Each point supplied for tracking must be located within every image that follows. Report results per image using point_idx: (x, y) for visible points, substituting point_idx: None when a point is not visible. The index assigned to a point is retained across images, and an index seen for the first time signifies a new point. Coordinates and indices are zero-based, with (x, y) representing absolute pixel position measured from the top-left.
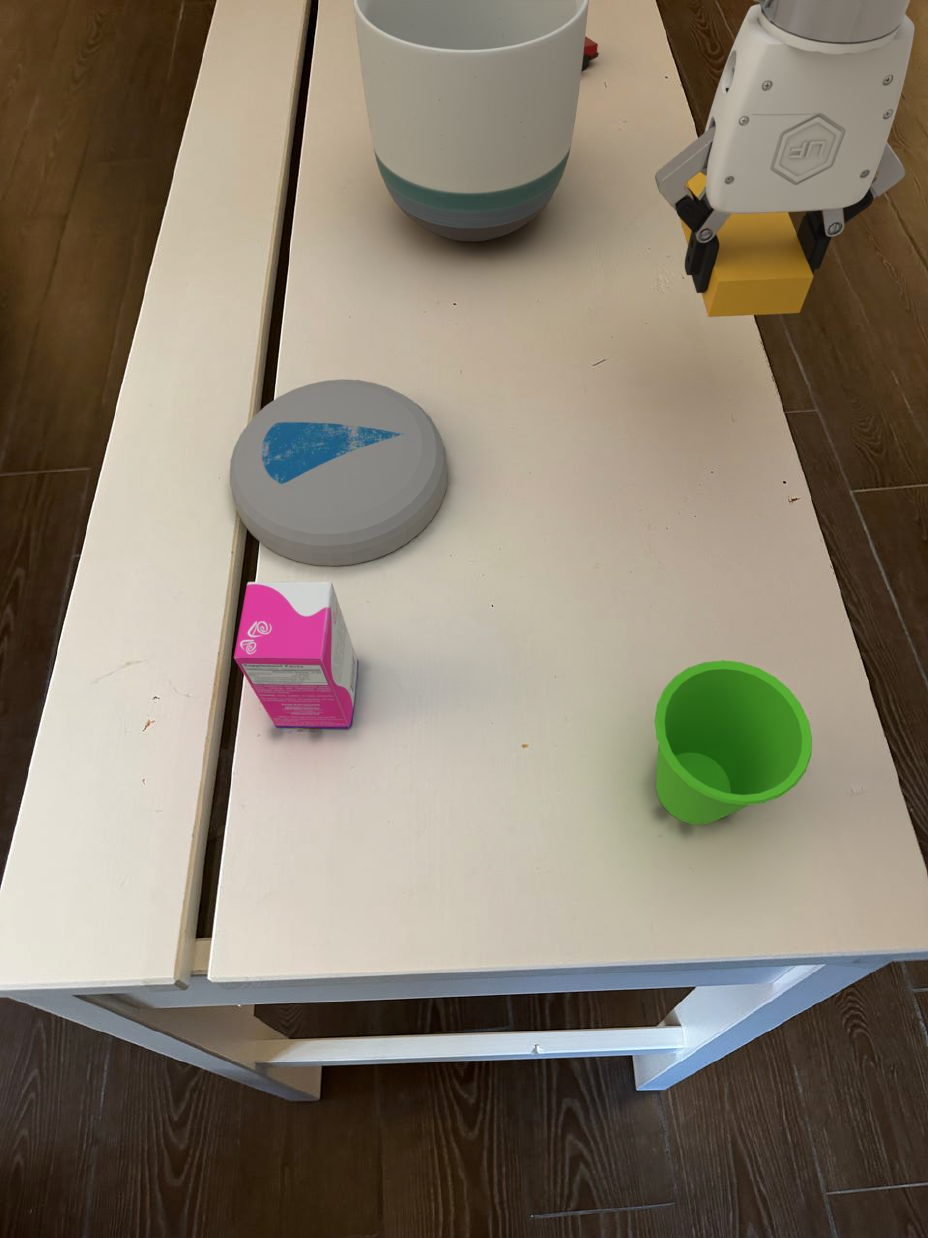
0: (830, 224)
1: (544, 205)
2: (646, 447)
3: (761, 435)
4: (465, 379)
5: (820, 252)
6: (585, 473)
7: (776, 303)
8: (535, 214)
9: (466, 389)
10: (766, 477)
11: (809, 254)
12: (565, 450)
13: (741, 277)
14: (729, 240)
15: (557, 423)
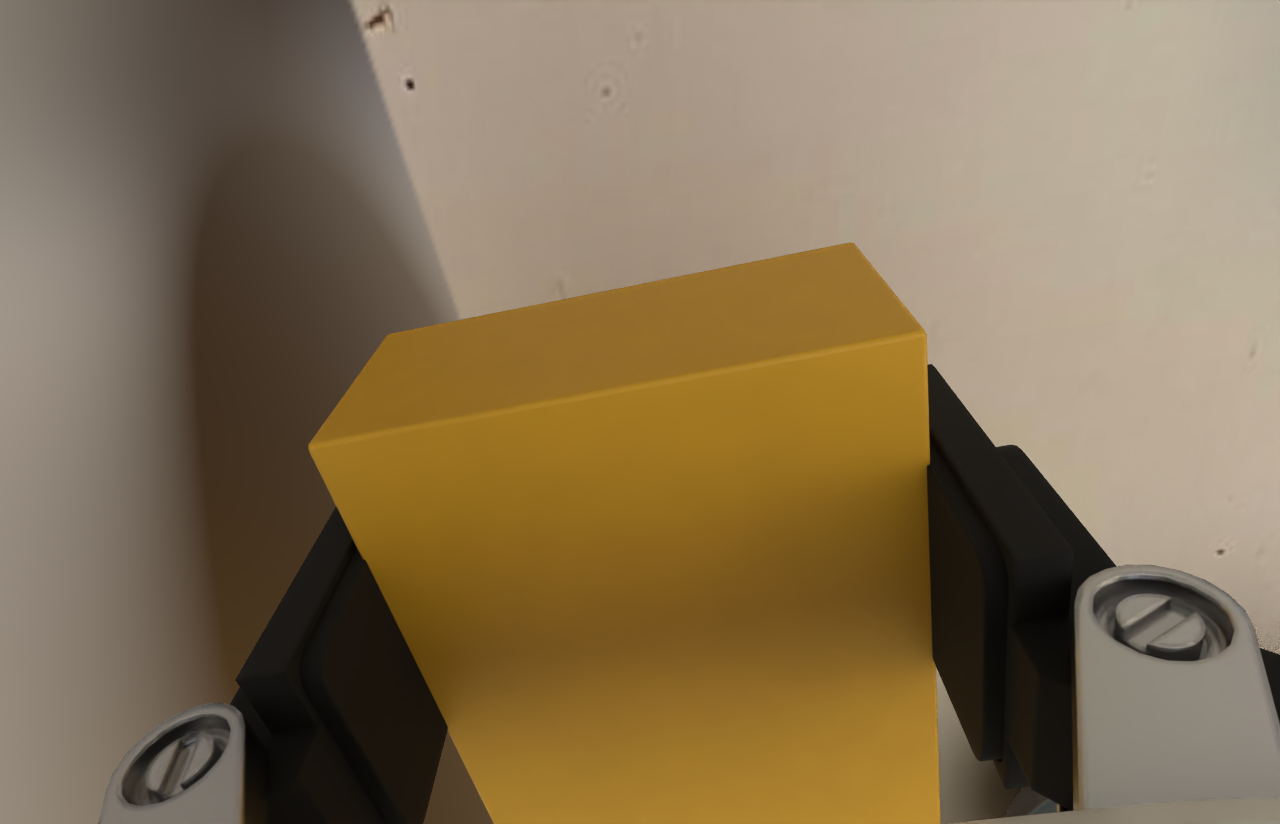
0: (199, 783)
1: (1032, 804)
2: (783, 158)
3: (484, 245)
4: (1246, 329)
5: (283, 605)
6: (962, 30)
7: (508, 333)
8: None
9: (1251, 296)
10: (458, 96)
11: (352, 592)
12: (1010, 113)
13: (765, 381)
14: (803, 660)
15: (1020, 211)
